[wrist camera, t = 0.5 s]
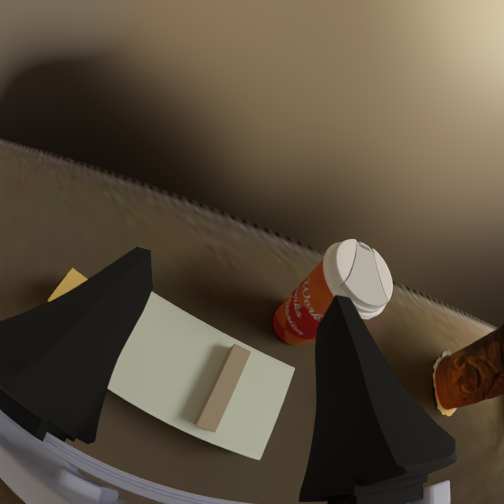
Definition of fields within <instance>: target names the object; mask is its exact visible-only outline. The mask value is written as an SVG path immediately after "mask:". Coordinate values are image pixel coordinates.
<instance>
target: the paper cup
mask: <svg viewBox="0 0 504 504" xmlns="http://www.w3.org/2000/svg"><path fill="white" fill-rule="evenodd" d="M392 290H393V283H392V278H391V274H390V271H389V269H388V267H387V265H386V263H385V262H384V260H383V259H382V257H381V256H380V255H379V254H378V252H376V251H375V250H374V249H370V247H369V246H367V245H365V244H363V243H361V242H359V243H358V242H356V240H354V239H350V240H346V241H343V242H338V243H335V244H333V245H332V246H330V247H329V248H328V249H327V251H326V253H325V255H324V259H323V260H322V261H321V262H320V263H319V264H318V266H317V267H316V268H315V269H314V270H313V271H312V272H311V273H310V274H309V275H308V276H307V278H306V279H305V280H304V281H303V282H302V283H301V284H300V285H299V286H298V287H297V288H296V289H295V290H294V292H293V293H292V294H291V295H290V296H289V297H288V298H287V299H286V300H285V301H284V302H283V303H282V304H281V306H280V307H279V308H278V309H277V310H276V312H275V314H274V317H273V327H274V330H275V332H276V334H277V336H278V337H279V338H280V339H281V340H282V341H284V342H285V343H287V344H290V345H301V344H304V343H307V342H310V341H312V340H315V339H316V332H317V327H318V325H319V323H320V321H321V320H322V318H323V316H324V314H325V313H326V311H327V309H328V307H329V306H330V304H331V302H332V300H333V298H334V297H335V295H340V296H345V297H349V298H350V299H351V300H352V302H353V304H354V306H355V307H356V309H357V311H358V313H359V315H360V316H361V318H362V319H370V318H372V317H374V316H377V315H378V314H380V313H381V312H382V310H383V309H384V307H385V305H386V304H387V303H388V301H389V300H390V298H391V295H392Z"/></svg>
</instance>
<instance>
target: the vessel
mask: <svg viewBox="0 0 504 504" xmlns="http://www.w3.org/2000/svg"><path fill="white" fill-rule="evenodd" d="M433 368H434V370H435V372H434V373H433V379H434V387H435V398H436V401H437V406H438V407H437V409H439V410H440V411H441V413H442V414H443V415H445V414H446V415H447V416H451V415H452V413H454V412H455V410H456V409H457V408H458V407H462V406H466V405H470V404H474V403H477V402H480V401H482V400H486V399H491V398H494V397H497V396H499V395H501V394H504V324H503V325H502V326H501V327H500V328H498V329H496V330H495V331H493V332H491V333H489V334H488V335H486V336H484V337H482V338H481V339H479V340H477V341H475V342H474V343H472V344H470V345H469V346H466V347H465V348H463V349H461V350H459V351H457V352H455V353H453V354H451V352H450V350H448V351H444V352H443V354H442V359H441V358H440V357H439V359H437V360H436V363H435V365H434V366H433Z"/></svg>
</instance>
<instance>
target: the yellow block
mask: <svg viewBox="0 0 504 504" xmlns="http://www.w3.org/2000/svg"><path fill="white" fill-rule="evenodd" d="M86 280H88V279H87V278H85V277H84V276H83V275H81V274H80V273H79V272H77V271H76V270H75V269H74V268H72V269H71V271H70V272H69V273H68V274H67V276H66V277H65V278H64V279H63V281H62V282H61V283H60V285H59V286H58V287H57V288H56V290H55V291H54V292H53V294H52V295H51V296H50V298H49V299H48V302H50V301H52V300H54V299H55V298H57V297H59V296H61V295H63V294H65V293H67V292H68V291H70V290H72V289H73V288H75V287H77V286H78V285H80V284H81V283H83V282H85V281H86Z"/></svg>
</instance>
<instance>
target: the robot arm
mask: <svg viewBox="0 0 504 504" xmlns="http://www.w3.org/2000/svg"><path fill="white" fill-rule="evenodd" d="M152 289H153V284H152V268H151V251H150V250H147V249H143V248H139V247H136V248H134V249H133V250H131V251H130V252H128V253H127V254H125V255H124V256H122V257H121V258H119V259H118V260H116V261H115V262H113V263H112V264H111V265H109V266H108V267H106V268H105V269H103V270H102V271H100V272H99V273H97V274H96V275H94V276H93V277H91V278H89V279H88V280H86V281H85V282H83V283H81V284H80V285H78V286H77V287H75V288H73V289H72V290H70V291H68V292H67V293H65V294H63V295H61V296H59V297H57V298H55V299H54V300H52V301H50V302H48V303H45V304H43V305H41V306H39V307H36V308H34V309H32V310H30V311H28V312H25V313H22V314H20V315H17V316H14V317H11V318H9V319H5V320H2V321H0V478H1V479H2V480H3V481H4V482H5V483H6V484H7V486H8V487H9V488H10V489H11V490H12V491H13V492H14V493H15V494H16V495H17V496H18V497H19V498H20V499H22V500H23V501H24V502H25V503H26V504H132V503H130V502H127V501H124V500H121V499H119V498H118V495H119V492H118V491H117V490H115V489H113V488H111V487H109V486H107V485H106V484H104V483H102V482H100V481H97V480H95V479H93V478H90V477H88V476H85V475H83V474H80V473H79V472H78V470H77V467H78V468H80V469H82V470H83V471H85V472H87V473H89V474H91V475H93V476H95V477H97V478H99V479H102V480H104V481H106V482H108V483H110V484H113V485H115V486H117V487H120V488H122V489H125V490H127V491H130V492H132V493H135V494H138V495H141V496H143V497H146V498H149V499H152V500H155V501H159V502H162V503H165V504H251V503H243V502H235V501H228V500H222V499H217V498H211V497H206V496H201V495H197V494H193V493H188V492H184V491H181V490H177V489H173V488H170V487H166V486H163V485H160V484H157V483H153V482H150V481H148V480H145V479H142V478H139V477H136V476H134V475H131V474H129V473H126V472H123V471H121V470H119V469H116V468H114V467H112V466H109V465H107V464H105V463H103V462H101V461H99V460H96V459H94V458H92V457H90V456H88V455H86V454H84V453H83V452H81V451H79V450H77V449H75V448H73V447H71V446H70V445H68V444H66V443H65V440H66V438H68V439H70V440H71V441H73V442H74V441H75V439H76V438H77V439H79V440H81V441H83V442H84V443H86V444H90V443H93V442H95V438H96V432H97V427H98V422H99V417H100V413H101V409H102V406H103V402H104V398H105V395H106V392H107V388H108V385H109V382H110V379H111V376H112V374H113V371H114V368H115V365H116V363H117V360H118V358H119V356H120V354H121V352H122V350H123V348H124V346H125V344H126V342H127V340H128V338H129V337H130V335H131V333H132V331H133V329H134V327H135V326H136V324H137V322H138V320H139V318H140V317H141V315H142V313H143V311H144V309H145V307H146V304H147V302H148V299H149V297H150V294H151V292H152ZM315 363H316V395H317V402H316V416H315V425H314V433H313V439H312V445H311V451H310V456H309V461H308V465H307V469H306V473H305V477H304V481H303V484H302V488H301V491H300V496H299V502H323V501H328V503H327V504H450V481H448V480H447V481H444V482H441V483H438V484H435V485H432V486H429V487H426V488H423V483H425V482H427V480H428V477H427V474H429V473H432V472H434V471H437V470H439V469H442V468H444V467H446V466H449V465H451V464H453V463H454V462H456V460H457V453H456V445H455V439H454V438H453V437H452V436H450V435H449V434H448V433H447V432H446V431H445V430H443V429H442V428H441V427H440V426H439V425H438V424H437V423H436V422H435V421H434V420H433V419H432V418H431V417H430V416H429V415H428V414H427V413H426V412H425V411H424V410H423V409H422V408H421V407H420V406H419V404H418V403H417V402H416V401H415V400H414V398H413V397H412V396H411V395H410V394H409V392H408V391H407V390H406V389H405V387H404V386H403V385H402V383H401V382H400V380H399V379H398V378H397V376H396V375H395V374H394V372H393V371H392V369H391V368H390V366H389V365H388V363H387V361H386V360H385V358H384V357H383V355H382V353H381V352H380V350H379V348H378V347H377V345H376V343H375V341H374V340H373V338H372V336H371V334H370V333H369V331H368V329H367V327H366V325H365V324H364V322H363V320H362V318H361V316H360V315H359V313H358V311H357V309H356V307H355V306H354V304H353V302H352V300H351V299H350V298H349V297H345V296H340V295H335V297H334V298H333V300H332V302H331V304H330V306H329V307H328V309H327V311H326V313H325V314H324V316H323V318H322V320H321V321H320V323H319V325H318V327H317V332H316V344H315Z"/></svg>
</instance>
